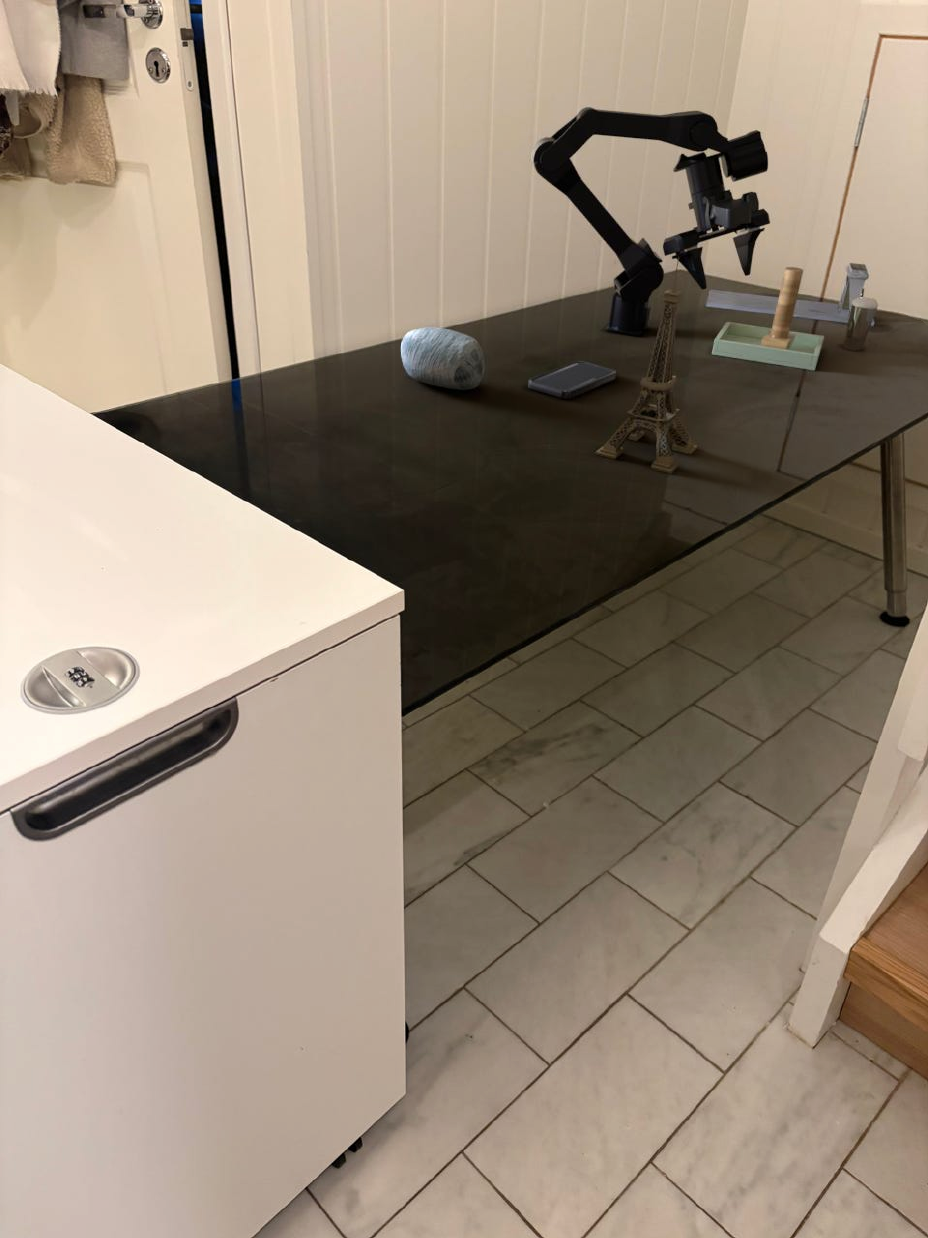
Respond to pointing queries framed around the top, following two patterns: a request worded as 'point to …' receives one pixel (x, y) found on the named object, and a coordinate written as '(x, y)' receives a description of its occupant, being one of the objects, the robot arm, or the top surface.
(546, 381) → the phone
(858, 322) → the milkshake
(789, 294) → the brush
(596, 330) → the top surface
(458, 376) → the blue yarn skein
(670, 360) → the eiffel tower
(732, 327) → the tray
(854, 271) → the monument
